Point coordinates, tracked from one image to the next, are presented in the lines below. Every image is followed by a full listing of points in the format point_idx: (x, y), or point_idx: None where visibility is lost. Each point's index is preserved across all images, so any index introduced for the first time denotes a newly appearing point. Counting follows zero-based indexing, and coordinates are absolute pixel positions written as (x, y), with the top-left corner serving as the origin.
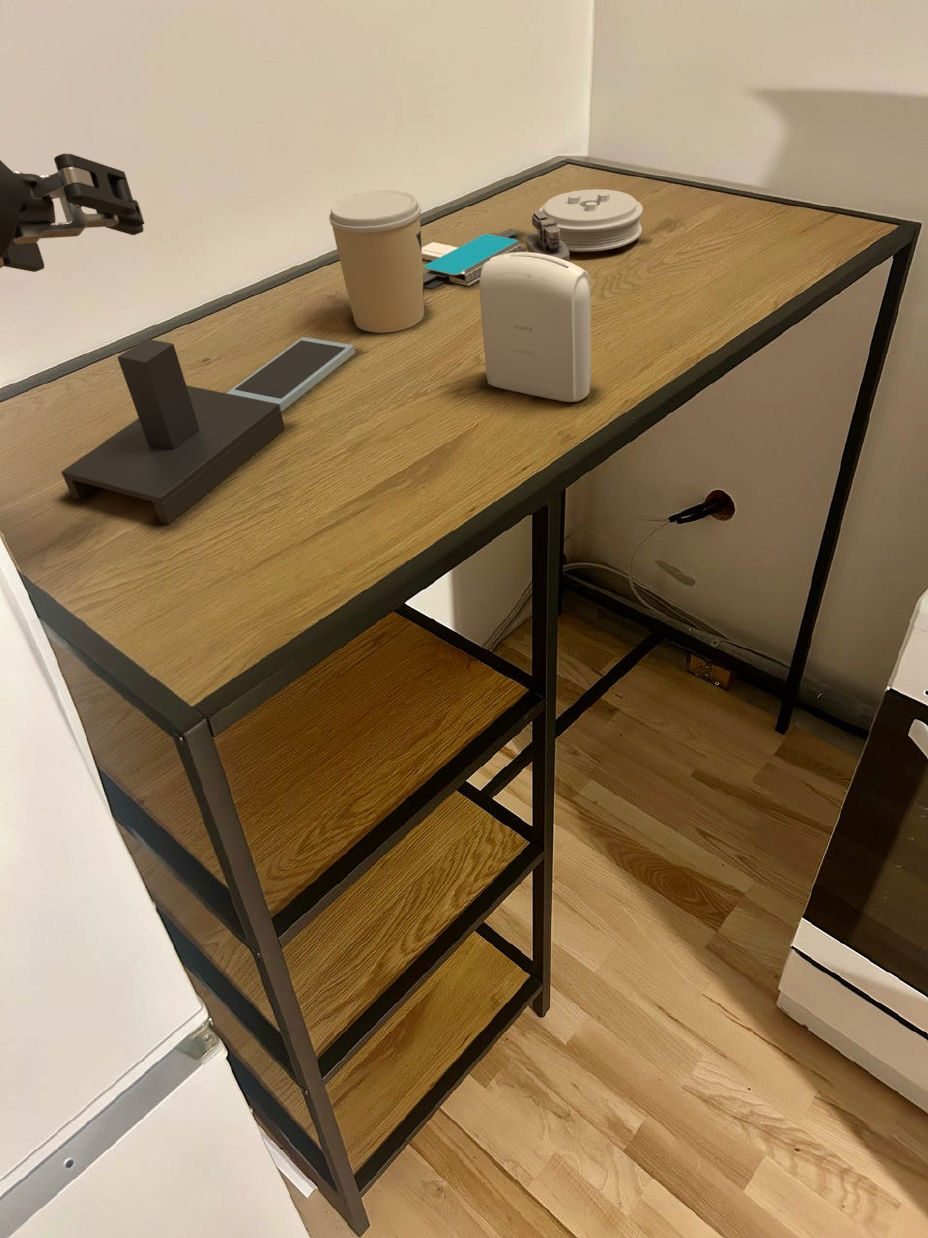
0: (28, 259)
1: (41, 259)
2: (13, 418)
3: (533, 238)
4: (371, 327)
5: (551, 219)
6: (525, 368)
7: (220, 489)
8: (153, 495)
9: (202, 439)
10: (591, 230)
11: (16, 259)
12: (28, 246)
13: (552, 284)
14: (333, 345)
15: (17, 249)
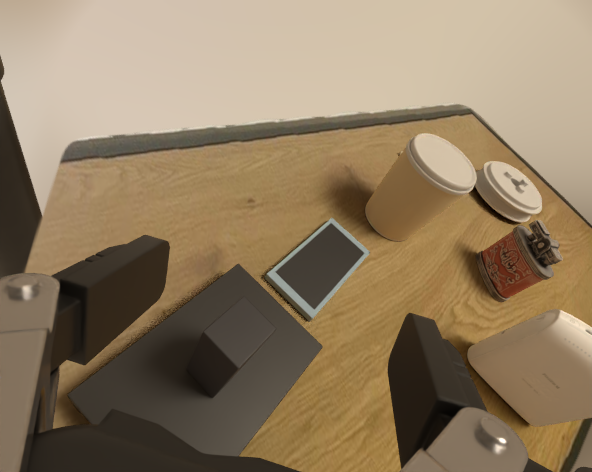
0: (136, 306)
1: (163, 278)
2: (51, 199)
3: (523, 235)
4: (379, 230)
5: (556, 242)
6: (518, 390)
7: (243, 456)
8: None
9: (245, 388)
10: (518, 209)
11: (105, 336)
12: (148, 270)
13: None
14: (355, 244)
15: (118, 303)
